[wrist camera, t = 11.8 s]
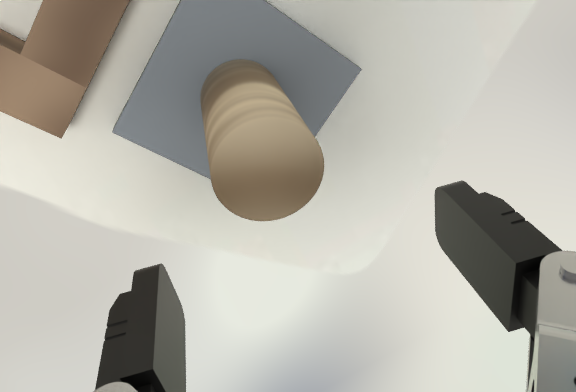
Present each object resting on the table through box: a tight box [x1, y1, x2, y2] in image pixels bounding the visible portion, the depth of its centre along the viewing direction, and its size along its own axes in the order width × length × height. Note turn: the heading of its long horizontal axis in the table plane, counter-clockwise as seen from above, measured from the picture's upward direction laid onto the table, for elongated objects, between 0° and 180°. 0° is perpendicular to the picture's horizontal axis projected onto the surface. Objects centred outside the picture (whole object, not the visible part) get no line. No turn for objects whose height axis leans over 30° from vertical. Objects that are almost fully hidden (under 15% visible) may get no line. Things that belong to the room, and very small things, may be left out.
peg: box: [200, 59, 324, 221], centre depth 21 cm, size 4×4×9 cm
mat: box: [112, 0, 362, 179], centre depth 26 cm, size 10×10×1 cm
